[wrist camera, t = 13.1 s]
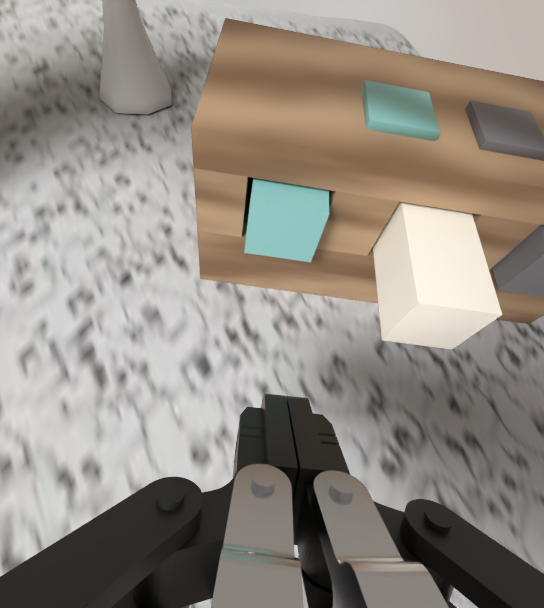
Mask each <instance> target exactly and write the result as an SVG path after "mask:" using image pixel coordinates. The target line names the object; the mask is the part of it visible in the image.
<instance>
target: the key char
mask: <svg viewBox="0 0 544 608" xmlns="http://www.w3.org/2000/svg"><path fill="white" fill-rule="evenodd" d="M492 270H493V273H494V276H495V280H496V283H497V286H498V289H499V290H502V291H509V292H516V293H523V294H530V295H537V296H544V225H540V226H539V227H538V228H536V229H535V230H534V231H533V232H532V233H531V234H530V235H529V236H527V237H526V238H525V239H524V240H523V241H522V242H521V243H519V244H518V245H517V246H516V247H515V248H514V249H513V250H512V251H510V252H509V253H508V254H507V255H506V256H505V257H504V258H502V259H501V260H500V261H499V262H498V263H497V264H496V265H495V266H493V267H492Z"/></svg>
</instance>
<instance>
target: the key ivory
mask: <svg viewBox="0 0 544 608" xmlns="http://www.w3.org/2000/svg"><path fill="white" fill-rule="evenodd" d="M373 253H374V264H375V274H376V284H377V294H378V305H379V315H380V325H381V336H382V340H383V341H391V342H398V343H406V344H414V345H422V346H430V347H437V348H445V349H453V348H455V347H456V346H458V345H459V344H461V343H462V342H463V341H465V340H466V339H468V338H469V337H471V336H472V335H474V334H475V333H477V332H478V331H479V330H481V329H482V328H484V327H485V326H487V325H488V324H490V323H491V322H493V321H494V320H496V319H497V318H498V317H500V316H501V315H502V312H501V308H500V305H499V302H498V298H497V295H496V292H495V289H494V285H493V282H492V279H491V275H490V272H489V269H488V265H487V262H486V259H485V255H484V252H483V249H482V245H481V242H480V239H479V235H478V232H477V229H476V225H475V222H474V219H473V216H472V213H467V212H461V211H455V210H449V209H442V208H436V207H430V206H424V205H418V204H412V203H405V202H399V203H398V205H397V207H396V208H395V210H394V212H393V213H392V215H391V217H390V218H389V220H388V222H387V223H386V225H385V227H384V228H383V230H382V232H381V233H380V235H379V237H378V238H377V240H376V242H375V244H374V245H373Z"/></svg>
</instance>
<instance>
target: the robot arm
mask: <svg viewBox="0 0 544 608" xmlns="http://www.w3.org/2000/svg"><path fill="white" fill-rule="evenodd" d="M294 545H298V553H299V556H298V558H295V557H294ZM454 588H455V589H457V590H458V591H459V592H460V593H462V594H463V595H464V596H465V597H466V598H468V599H469V600H470V601H471V602H472V603H474V604H475V605H476V606H477V607H478V608H544V574H543V573H541V572H540V571H538V570H537V569H535V568H534V567H532V566H531V565H529V564H528V563H526V562H525V561H524V560H522V559H521V558H519V557H518V556H516V555H515V554H513V553H512V552H510V551H509V550H508V549H506V548H505V547H503V546H502V545H500V544H499V543H497V542H496V541H494V540H493V539H491V538H490V537H489V536H487V535H486V534H484V533H483V532H481V531H480V530H478V529H477V528H475V527H474V526H472V525H471V524H470V523H468V522H467V521H465V520H464V519H462V518H461V517H459V516H458V515H456V514H455V513H453V512H452V511H451V510H449V509H447V508H446V507H444V506H442V505H440V504H438V503H436V502H433V501H430V500H425V499H416V500H412V501H410V502H409V503H408V504H407V506H406V508H405V512H401V511H398V510H395V509H392V508H390V507H387V506H384V505H381V504H379V503H376V502H374V501H373V500H372V498H371V496H370V494H369V492H368V490H367V489H366V487H365V486H364V485H363V484H362V483H361V482H360V481H359V480H358V479H356V478H355V477H353V476H352V475H350V473H349V470H348V467H347V464H346V462H345V459H344V456H343V454H342V451H341V448H340V446H339V443H338V440H337V437H335V432H334V429H333V426H332V424H331V423H330V422H329V421H328V420H327V419H326V418H325V417H324V416H323V415H320V414H313V413H312V410H311V406H310V403H309V400H308V398H300V397H291V396H286V397H285V396H281V395H272V394H264V395H263V399H262V406H261V408H253V407H247V408H246V409H245V410H244V411H243V412H242V414H241V415H240V421H239V428H238V435H237V442H236V450H235V458H234V471H233V479H232V480H231V481H230V482H229V483H228V484H227V485H225V486H224V487H222V488H219V489H217V490H213V491H208V492H203V493H202V492H201V490H200V488H199V487H198V486H197V485H196V484H195V483H193V482H192V481H190V480H188V479H185V478H181V477H166V478H162V479H159V480H156V481H154V482H152V483H150V484H149V485H147V486H145V487H144V488H142V489H141V490H139V491H137V492H136V493H134V494H133V495H131V496H129V497H128V498H126V499H125V500H123V501H121V502H120V503H118V504H117V505H115V506H113V507H112V508H110V509H109V510H107V511H105V512H104V513H102V514H100V515H99V516H97V517H96V518H94V519H92V520H91V521H89V522H88V523H86V524H84V525H83V526H81V527H80V528H78V529H76V530H75V531H73V532H72V533H70V534H68V535H67V536H65V537H64V538H62V539H60V540H59V541H57V542H55V543H54V544H52V545H51V546H49V547H47V548H46V549H44V550H43V551H41V552H39V553H38V554H36V555H35V556H33V557H31V558H30V559H28V560H27V561H25V562H23V563H22V564H20V565H19V566H17V567H15V568H14V569H12V570H10V571H9V572H7V573H6V574H4V575H2V576H1V577H0V608H189V606H190V605H191V604H195V603H198V602H201V601H204V600H207V599H211V598H213V599H212V605H211V608H456V607H455V606H454V605H453V604H452V603H451V602H450V601H449V600H450V597H451V594H452V591H453V589H454Z"/></svg>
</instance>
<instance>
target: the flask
mask: <svg viewBox="0 0 544 608" xmlns="http://www.w3.org/2000/svg"><path fill="white" fill-rule="evenodd" d="M102 4H103V18H104V38H103V55H102V68H101V78H100V89H99V99H100V100H102V101H103V102H104V103H105V104H106V105H107V106H109V107H110V108H111V109H112V110H113V111H114V112H115V113H126V114H150V113H152V112H155V111H158V110H160V109H163V108H165V107H168V106H171V105H172V94H171V87H170V84H169V82H168V80H167V78H166V76H165V73H164V71H163V69H162V67H161V65H160V63H159V61H158V59H157V56H156V54H155V52H154V50H153V47H152V45H151V43H150V40H149V38H148V36H147V33H146V31H145V29H144V26H143V24H142V21H141V17H140V14H139V11H138V7H137V4H136V1H135V0H102Z"/></svg>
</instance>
